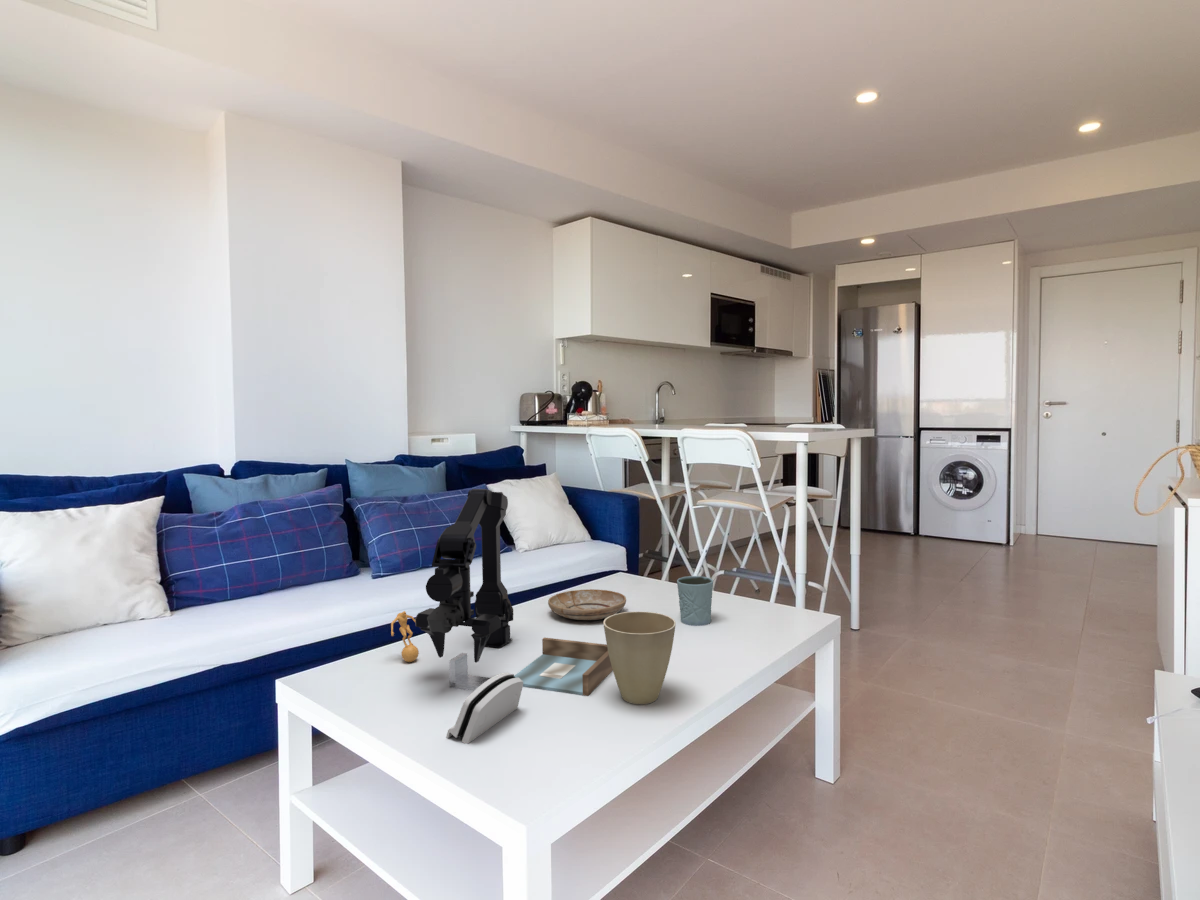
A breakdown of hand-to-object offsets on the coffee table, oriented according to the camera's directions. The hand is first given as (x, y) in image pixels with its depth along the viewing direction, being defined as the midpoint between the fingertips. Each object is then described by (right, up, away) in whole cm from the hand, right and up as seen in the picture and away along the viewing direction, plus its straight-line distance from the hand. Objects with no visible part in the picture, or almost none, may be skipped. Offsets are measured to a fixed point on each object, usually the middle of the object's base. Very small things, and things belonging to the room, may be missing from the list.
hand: (458, 659), depth 146 cm
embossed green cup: (+58, -3, +43) cm, 73 cm away
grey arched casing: (+10, -6, -20) cm, 23 cm away
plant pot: (+40, -5, -9) cm, 41 cm away
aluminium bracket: (+3, -5, -1) cm, 6 cm away
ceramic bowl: (+27, -3, +52) cm, 59 cm away
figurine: (-16, -5, +15) cm, 22 cm away
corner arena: (+22, -5, +5) cm, 23 cm away
